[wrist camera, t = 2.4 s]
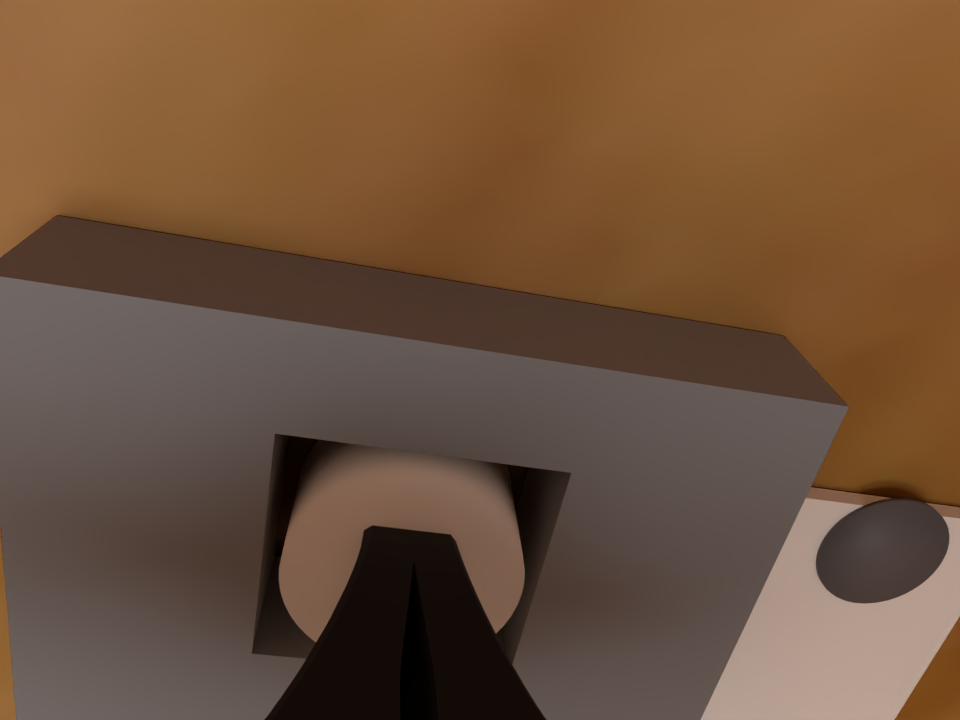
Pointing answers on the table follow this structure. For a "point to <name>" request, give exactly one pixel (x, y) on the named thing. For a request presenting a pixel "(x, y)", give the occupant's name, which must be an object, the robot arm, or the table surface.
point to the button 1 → (396, 523)
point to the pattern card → (846, 612)
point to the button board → (378, 423)
